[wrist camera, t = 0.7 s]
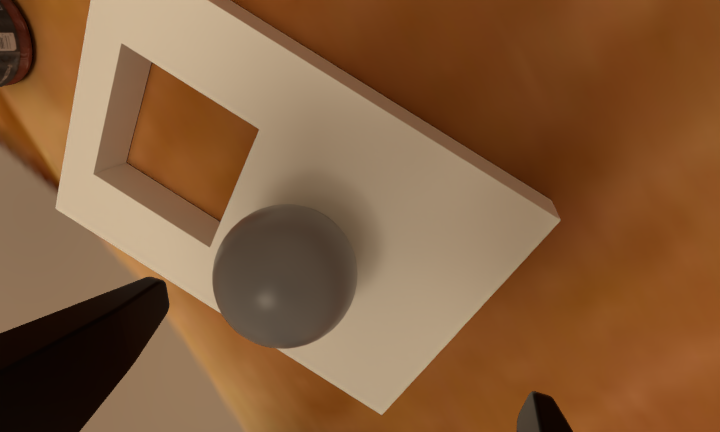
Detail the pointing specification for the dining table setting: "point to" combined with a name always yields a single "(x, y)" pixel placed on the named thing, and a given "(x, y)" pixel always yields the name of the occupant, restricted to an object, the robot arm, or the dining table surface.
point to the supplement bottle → (13, 44)
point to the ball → (284, 276)
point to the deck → (300, 183)
